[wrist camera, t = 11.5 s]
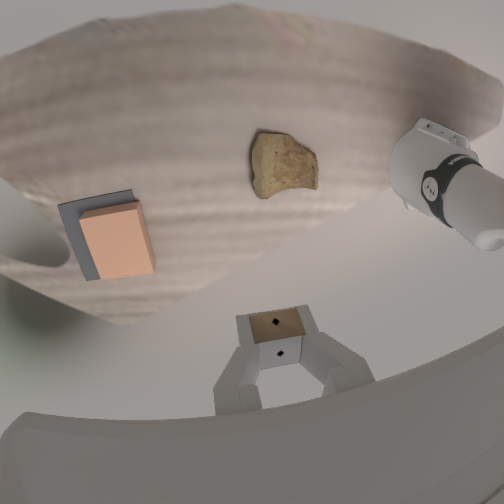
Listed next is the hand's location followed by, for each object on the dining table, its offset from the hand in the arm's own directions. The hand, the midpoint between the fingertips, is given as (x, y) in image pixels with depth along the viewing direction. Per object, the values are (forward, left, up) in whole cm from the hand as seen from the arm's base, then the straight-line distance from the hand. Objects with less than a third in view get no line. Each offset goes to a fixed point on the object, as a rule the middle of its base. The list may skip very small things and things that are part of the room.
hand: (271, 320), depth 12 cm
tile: (+13, +14, -33) cm, 38 cm away
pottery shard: (-4, +5, -35) cm, 35 cm away
